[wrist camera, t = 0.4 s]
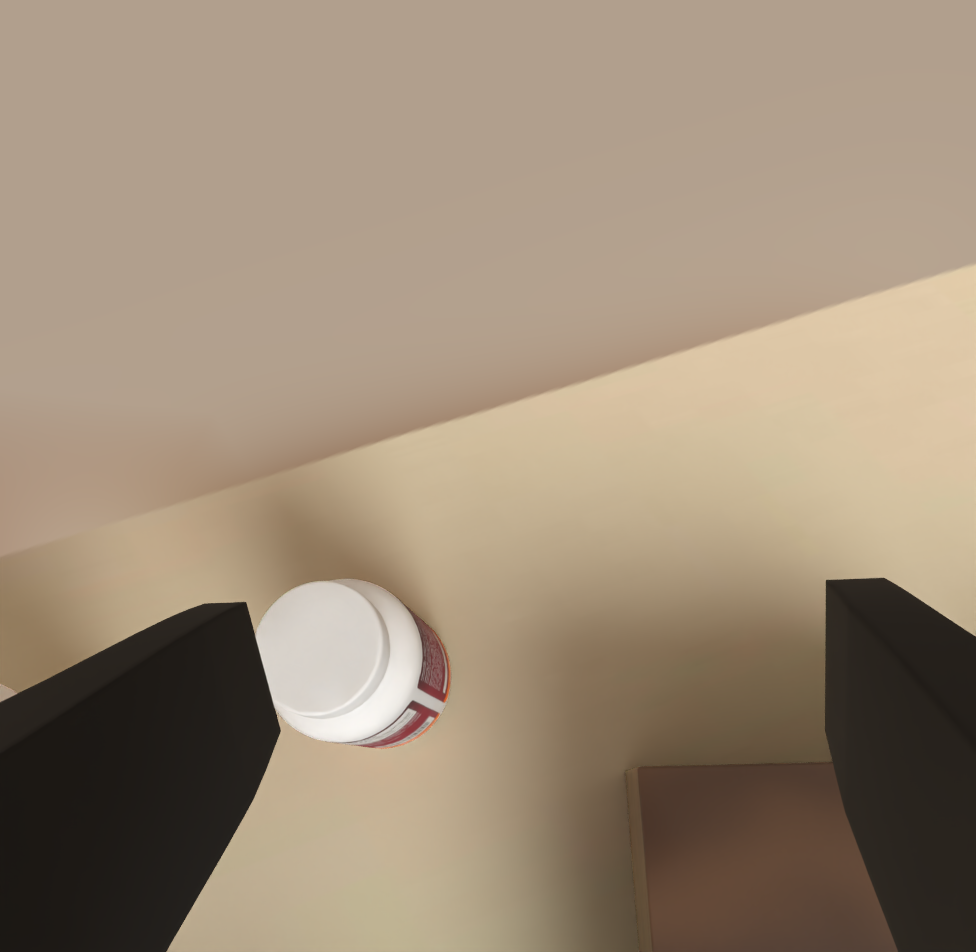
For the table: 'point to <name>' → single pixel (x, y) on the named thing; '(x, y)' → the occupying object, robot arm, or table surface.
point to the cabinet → (748, 861)
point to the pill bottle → (353, 664)
